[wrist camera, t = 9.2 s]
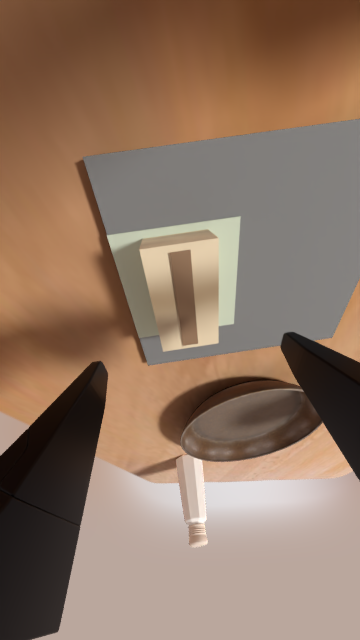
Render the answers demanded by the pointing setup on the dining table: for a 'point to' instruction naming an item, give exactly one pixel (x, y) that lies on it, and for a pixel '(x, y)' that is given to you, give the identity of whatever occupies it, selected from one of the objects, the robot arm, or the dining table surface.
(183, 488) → the salt shaker
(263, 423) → the plant saucer
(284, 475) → the dining table surface
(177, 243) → the slotted cream block
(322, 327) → the rubber mat
